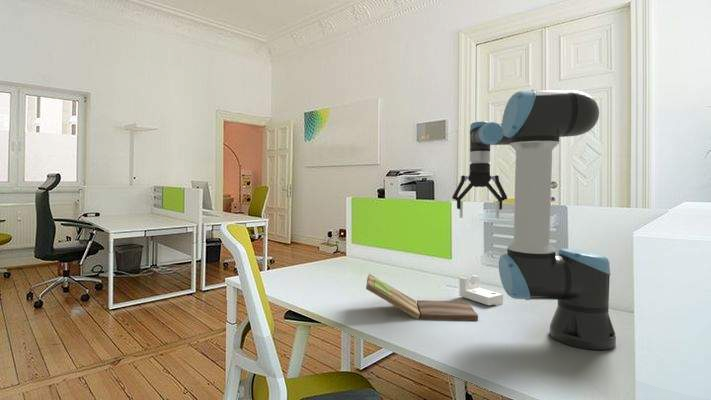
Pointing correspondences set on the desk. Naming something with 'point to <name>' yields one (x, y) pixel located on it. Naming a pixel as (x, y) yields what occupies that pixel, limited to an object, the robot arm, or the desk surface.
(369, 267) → the desk surface
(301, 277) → the desk surface
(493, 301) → the bracket
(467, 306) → the walnut laid plank
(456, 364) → the desk surface
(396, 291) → the board
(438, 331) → the desk surface
